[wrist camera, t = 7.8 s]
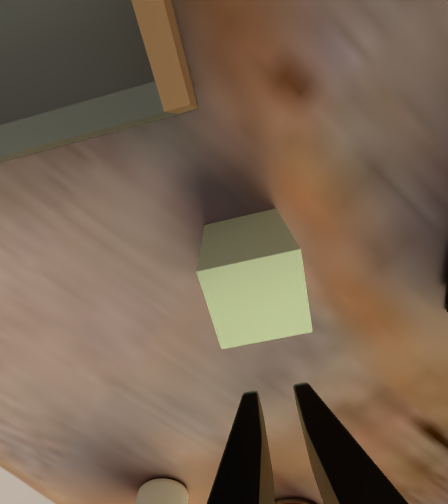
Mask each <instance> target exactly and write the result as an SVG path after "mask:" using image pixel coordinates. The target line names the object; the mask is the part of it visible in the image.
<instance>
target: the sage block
mask: <svg viewBox="0 0 448 504" xmlns="http://www.w3.org/2000/svg"><path fill="white" fill-rule="evenodd" d="M197 275H198V278H199V281H200V284H201V287H202V290H203V293H204V297H205V300H206V303H207V306H208V309H209V312H210V315H211V318H212V321H213V324H214V328H215V331H216V334H217V337H218V340H219V343H220V346H221V349H226V348H231V347H236V346H241V345H247V344H252V343H257V342H262V341H268V340H273V339H278V338H283V337H289V336H294V335H299V334H304V333H310V332H312V325H311V317H310V310H309V303H308V296H307V289H306V282H305V275H304V268H303V261H302V254H301V248H300V247H299V245H298V244H297V242H296V240H295V239H294V237H293V235H292V234H291V232H290V230H289V229H288V227H287V225H286V224H285V222H284V221H283V219H282V217H281V216H280V214H279V212H278V211H277V209H276V208H275V209H271V210H267V211H263V212H258V213H254V214H250V215H245V216H241V217H237V218H233V219H228V220H224V221H220V222H215V223H211V224H207V225H204V230H203V236H202V242H201V248H200V254H199V260H198V266H197Z"/></svg>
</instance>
